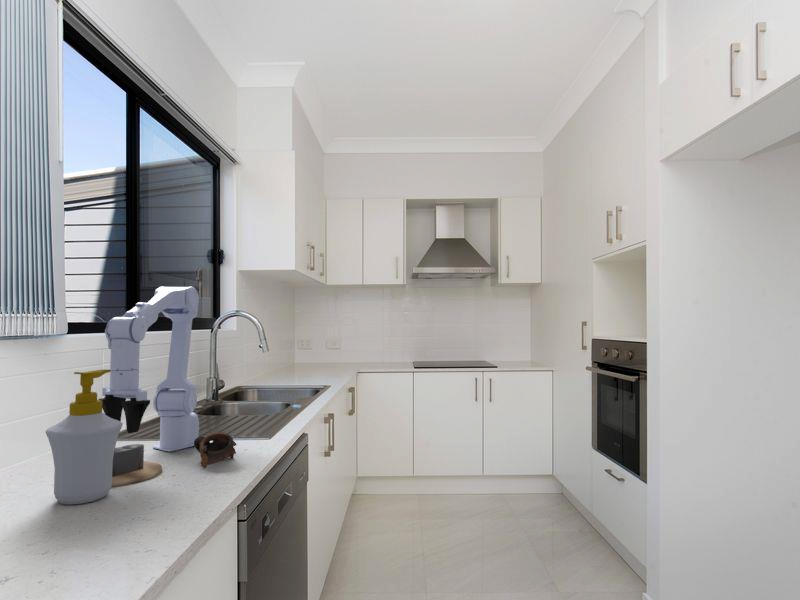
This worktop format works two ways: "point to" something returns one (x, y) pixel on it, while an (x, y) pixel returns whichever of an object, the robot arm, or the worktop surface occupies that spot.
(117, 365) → the robot arm
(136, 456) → the dark grey rounded block
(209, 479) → the worktop surface
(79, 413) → the soap bottle
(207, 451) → the dark brown lumpy piece
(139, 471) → the round copper disc
